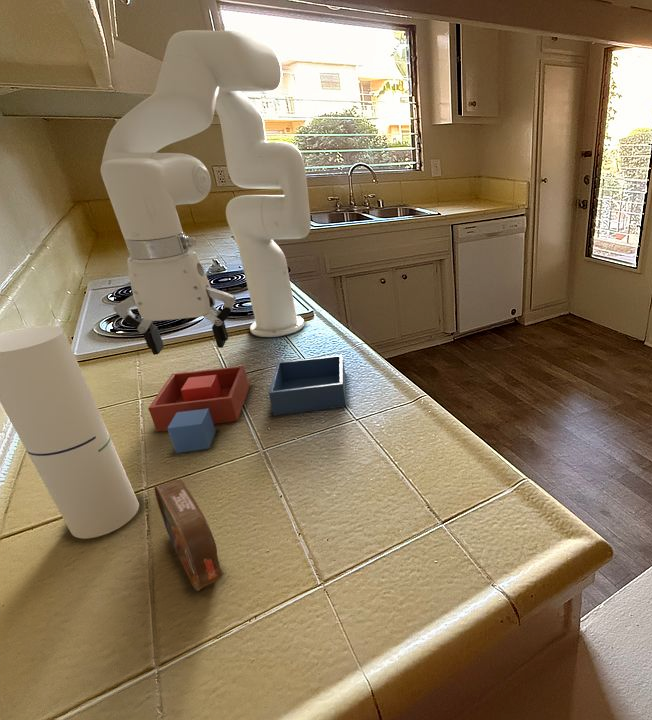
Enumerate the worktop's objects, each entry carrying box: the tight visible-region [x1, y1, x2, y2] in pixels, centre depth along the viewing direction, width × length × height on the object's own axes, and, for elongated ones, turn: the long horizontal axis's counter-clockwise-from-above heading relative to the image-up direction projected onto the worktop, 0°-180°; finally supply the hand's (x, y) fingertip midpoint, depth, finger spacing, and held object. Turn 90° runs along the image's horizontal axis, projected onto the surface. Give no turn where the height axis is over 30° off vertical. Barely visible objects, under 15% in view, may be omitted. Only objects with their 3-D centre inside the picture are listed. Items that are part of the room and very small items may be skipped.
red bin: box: [147, 365, 250, 432], centre depth 82 cm, size 12×12×5 cm
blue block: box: [167, 408, 217, 454], centre depth 72 cm, size 5×5×5 cm
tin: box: [153, 478, 224, 592], centre depth 52 cm, size 15×3×8 cm, turn 45°
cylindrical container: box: [0, 324, 140, 539], centre depth 54 cm, size 7×7×25 cm
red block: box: [181, 375, 223, 402], centre depth 81 cm, size 5×5×5 cm
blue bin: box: [268, 354, 347, 417], centre depth 86 cm, size 12×12×5 cm
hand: (191, 347), depth 78 cm, fingers open, 9 cm apart
